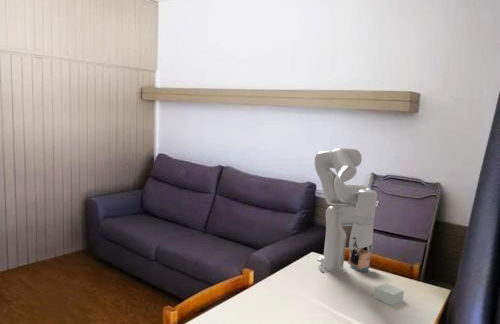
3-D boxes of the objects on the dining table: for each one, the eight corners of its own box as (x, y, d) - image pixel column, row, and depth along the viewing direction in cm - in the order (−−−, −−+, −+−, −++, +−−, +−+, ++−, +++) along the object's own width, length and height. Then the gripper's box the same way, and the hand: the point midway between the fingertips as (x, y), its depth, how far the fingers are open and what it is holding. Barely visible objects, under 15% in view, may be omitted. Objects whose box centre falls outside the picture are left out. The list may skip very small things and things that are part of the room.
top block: (348, 263, 168) (349, 249, 167) (356, 260, 172) (358, 247, 171) (360, 269, 164) (362, 254, 163) (369, 266, 168) (370, 252, 167)
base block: (374, 296, 165) (375, 287, 164) (384, 292, 170) (386, 283, 169) (391, 304, 159) (393, 295, 158) (402, 299, 164) (403, 290, 163)
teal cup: (365, 265, 202) (368, 242, 201) (373, 274, 192) (376, 249, 191) (345, 265, 202) (348, 241, 200) (352, 273, 192) (354, 248, 190)
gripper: (368, 214, 173) (363, 254, 176) (343, 220, 162) (338, 262, 165) (384, 219, 168) (378, 261, 170) (359, 225, 157) (353, 269, 159)
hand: (358, 261), depth 168 cm, fingers closed on top block, 6 cm apart
